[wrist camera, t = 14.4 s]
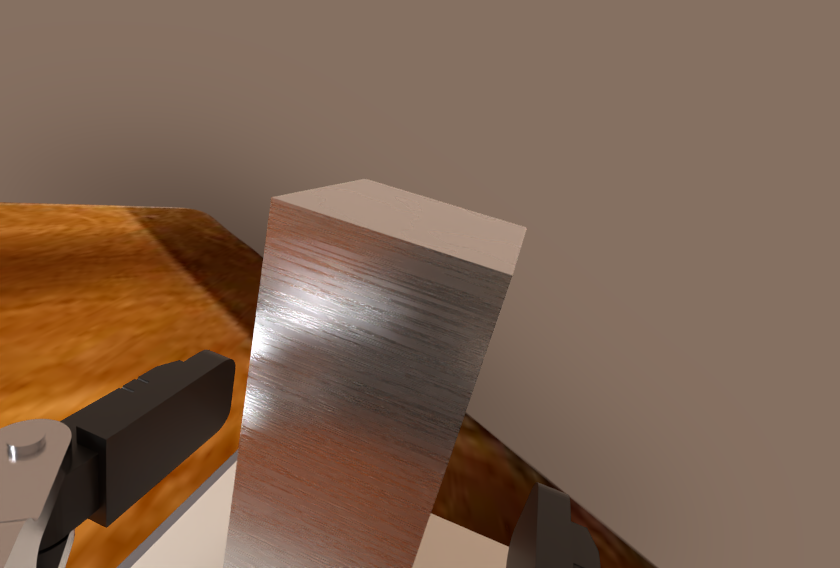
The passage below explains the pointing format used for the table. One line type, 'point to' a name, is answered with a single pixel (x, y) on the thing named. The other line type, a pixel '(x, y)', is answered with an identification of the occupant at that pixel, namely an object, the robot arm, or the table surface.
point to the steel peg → (360, 372)
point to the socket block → (209, 519)
